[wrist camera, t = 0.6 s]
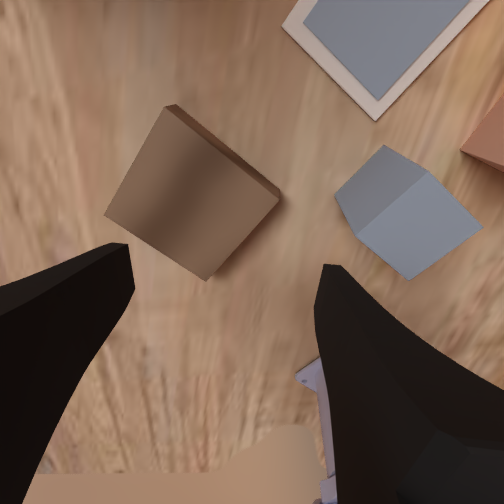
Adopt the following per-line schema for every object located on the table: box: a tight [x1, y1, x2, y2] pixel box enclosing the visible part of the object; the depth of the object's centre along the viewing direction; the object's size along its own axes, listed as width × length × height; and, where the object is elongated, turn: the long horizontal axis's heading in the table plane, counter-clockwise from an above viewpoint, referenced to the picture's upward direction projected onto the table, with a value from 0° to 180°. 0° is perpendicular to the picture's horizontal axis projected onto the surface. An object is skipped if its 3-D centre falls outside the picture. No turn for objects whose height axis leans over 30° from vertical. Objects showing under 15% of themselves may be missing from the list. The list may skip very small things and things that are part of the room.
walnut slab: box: [104, 104, 280, 281], centre depth 19 cm, size 8×8×2 cm
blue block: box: [334, 145, 484, 281], centre depth 16 cm, size 4×4×6 cm
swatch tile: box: [281, 0, 489, 121], centre depth 14 cm, size 7×7×1 cm
